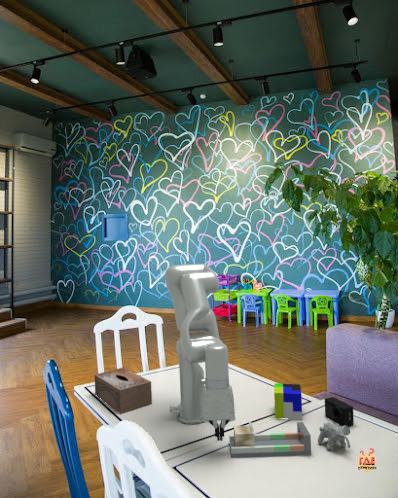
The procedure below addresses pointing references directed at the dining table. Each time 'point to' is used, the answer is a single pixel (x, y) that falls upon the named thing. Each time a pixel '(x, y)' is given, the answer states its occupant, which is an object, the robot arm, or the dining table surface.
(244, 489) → the dining table surface
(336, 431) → the elephant statuette
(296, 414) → the puzzle toy
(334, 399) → the digital camera
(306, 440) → the grey angled bar
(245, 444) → the beige rectangular block
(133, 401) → the tissue box cover
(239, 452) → the grey metal rail
